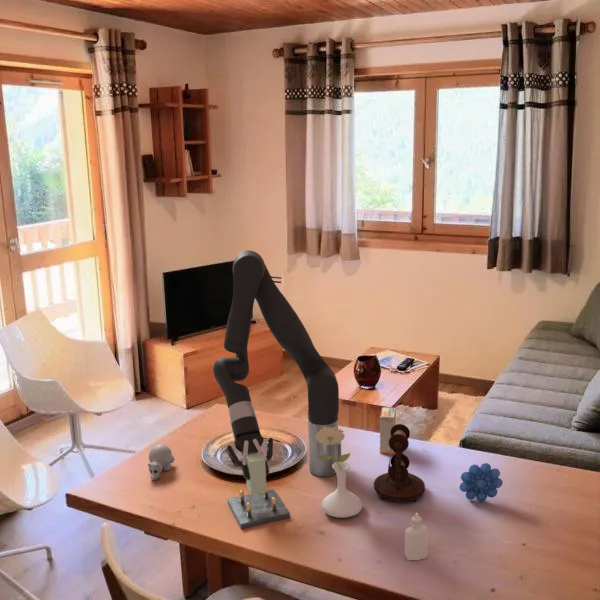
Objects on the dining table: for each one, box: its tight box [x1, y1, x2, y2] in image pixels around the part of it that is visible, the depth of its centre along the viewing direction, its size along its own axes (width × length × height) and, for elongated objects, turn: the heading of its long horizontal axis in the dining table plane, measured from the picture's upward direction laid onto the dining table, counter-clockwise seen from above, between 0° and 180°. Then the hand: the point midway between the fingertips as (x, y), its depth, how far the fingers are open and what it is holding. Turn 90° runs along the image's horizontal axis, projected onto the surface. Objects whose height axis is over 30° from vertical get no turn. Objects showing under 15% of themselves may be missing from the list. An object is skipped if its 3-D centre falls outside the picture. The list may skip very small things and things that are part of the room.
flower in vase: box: [315, 427, 363, 519], centre depth 188 cm, size 13×11×25 cm
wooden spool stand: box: [373, 423, 426, 503], centre depth 197 cm, size 15×15×20 cm
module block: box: [245, 453, 267, 495], centre depth 189 cm, size 4×4×10 cm
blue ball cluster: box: [459, 462, 503, 503], centre depth 192 cm, size 12×7×12 cm, turn 73°
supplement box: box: [379, 407, 397, 455], centre depth 224 cm, size 8×5×13 cm, turn 168°
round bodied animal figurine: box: [147, 443, 175, 481], centre depth 214 cm, size 7×12×8 cm, turn 167°
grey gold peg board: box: [227, 484, 291, 530], centre depth 191 cm, size 14×14×5 cm
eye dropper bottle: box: [404, 512, 429, 561], centre depth 167 cm, size 4×6×12 cm
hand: (257, 477), depth 188 cm, fingers closed on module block, 4 cm apart
